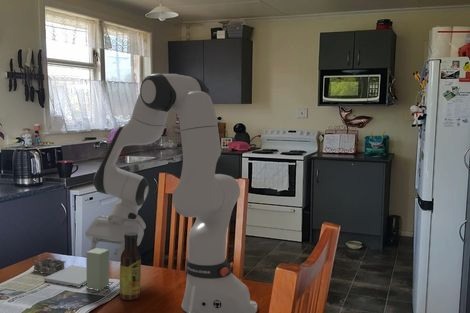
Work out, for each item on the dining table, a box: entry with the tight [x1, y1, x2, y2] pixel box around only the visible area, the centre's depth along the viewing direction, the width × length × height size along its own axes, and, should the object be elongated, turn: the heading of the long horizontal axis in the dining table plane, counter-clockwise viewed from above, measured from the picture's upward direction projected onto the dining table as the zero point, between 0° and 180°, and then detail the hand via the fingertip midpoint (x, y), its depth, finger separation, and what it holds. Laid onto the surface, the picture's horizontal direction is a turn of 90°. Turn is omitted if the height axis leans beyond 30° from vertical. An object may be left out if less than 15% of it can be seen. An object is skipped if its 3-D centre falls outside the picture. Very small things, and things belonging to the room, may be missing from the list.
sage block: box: [85, 247, 110, 291], centre depth 149 cm, size 5×5×12 cm
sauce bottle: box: [119, 233, 142, 301], centre depth 141 cm, size 6×6×20 cm
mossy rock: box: [32, 257, 67, 275], centre depth 164 cm, size 11×8×4 cm
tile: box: [43, 264, 87, 288], centre depth 157 cm, size 14×14×1 cm
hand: (104, 253), depth 152 cm, fingers open, 8 cm apart
